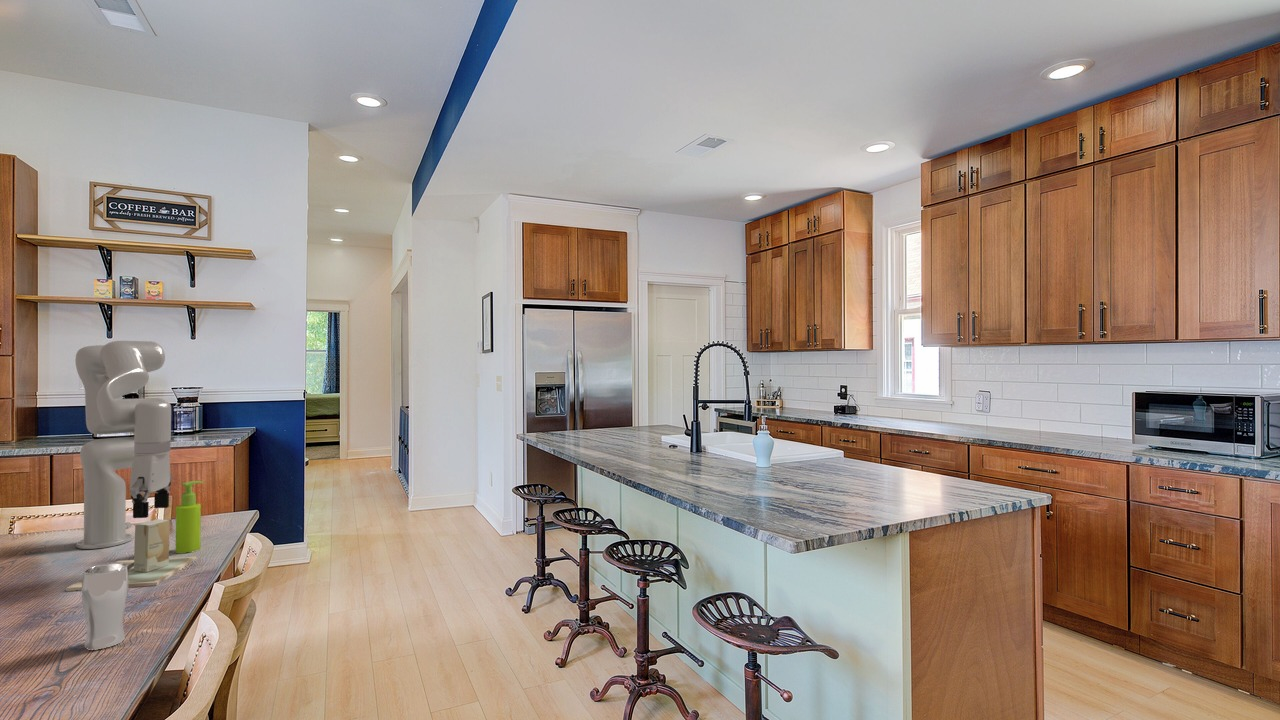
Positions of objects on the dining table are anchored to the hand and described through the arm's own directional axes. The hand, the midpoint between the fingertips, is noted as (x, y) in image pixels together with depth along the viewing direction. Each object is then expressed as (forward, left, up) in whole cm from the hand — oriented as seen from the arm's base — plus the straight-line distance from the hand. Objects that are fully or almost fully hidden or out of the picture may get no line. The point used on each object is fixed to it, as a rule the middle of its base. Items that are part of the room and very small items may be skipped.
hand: (151, 512), depth 161 cm
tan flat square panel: (+1, -3, -16) cm, 16 cm away
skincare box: (0, 0, -15) cm, 15 cm away
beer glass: (+44, +14, -16) cm, 49 cm away
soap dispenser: (-19, +1, -16) cm, 24 cm away
